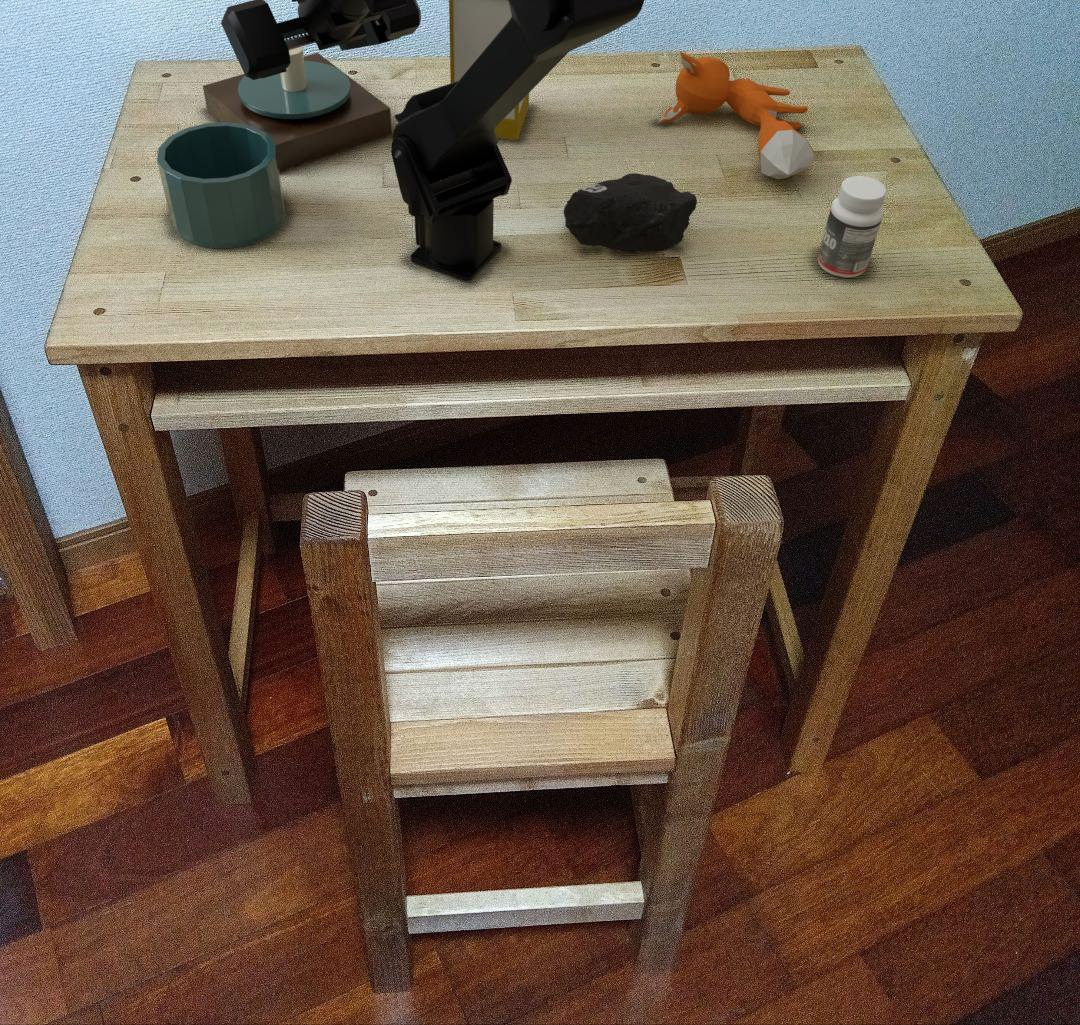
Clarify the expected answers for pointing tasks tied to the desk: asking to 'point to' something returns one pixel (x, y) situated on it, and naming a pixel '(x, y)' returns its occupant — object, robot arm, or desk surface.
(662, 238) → the rock
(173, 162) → the jar
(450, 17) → the white and yellow box
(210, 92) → the board
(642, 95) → the desk surface
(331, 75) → the lid
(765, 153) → the toy
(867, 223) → the pill bottle
